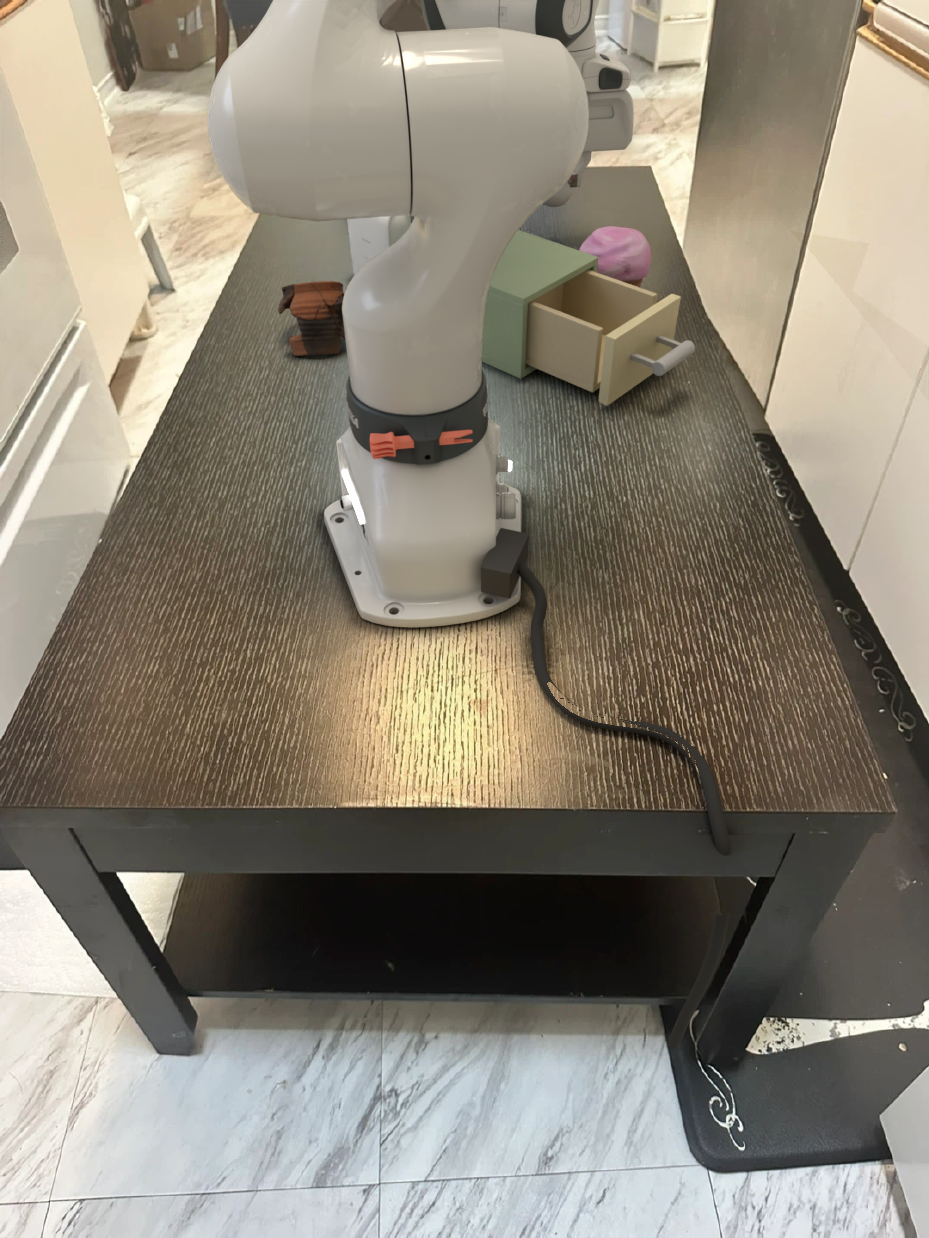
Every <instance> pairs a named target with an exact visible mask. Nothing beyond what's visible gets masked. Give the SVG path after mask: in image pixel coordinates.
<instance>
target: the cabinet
mask: <svg viewBox="0 0 929 1238" xmlns="http://www.w3.org/2000/svg"><path fill="white" fill-rule="evenodd" d="M598 258H599V257H597V256H594V255H591V254H588V253H585V252H582V251H579V250H578V249H576V248H573V247H570V246H567V245H564V244H561V243H558V242H555V241H552V240H549V239H546V238H543V237H541V236H538V235H535V234H531V233H529V232H527V231H523V230H520V229H519V230H518V231H517V232H516V234H515V235H514V237H513V238H512V239H511V241H510V242H509V244H508V246H507V247H506V249H505V251H504V252H503V254H502V256H501V258H500V260H499V262H498V264H497V266H496V269H495V271H494V274H493V276H492V279H491V282H490V285H489V289H488V293H487V298H486V305H485V314H484V325H483V339H482V363H484V364H486V365H488V366H490V367H493V368H495V369H497V370H500V371H501V372H504V373H506V374H509V375H511V376H513V377H515V378H517V379H520V380H521V379H523V378H524V377H526V376H527V375H529V374H531V373H533V372H535V370H538V369H537V368H534V367H532V366H530V365H527V364H525V361H526V336H527V312H528V304H527V303H529V302H531V301H533V300H535V299H536V298H538V297H540V296H542V295H543V294H545V293H547V292H549V291H551V290H552V289H554V288H556V287H558V286H559V285H561V284H563V283H565V282H567V281H568V280H570V279H572V278H574V277H575V276H577V275H579V274H581V273H582V272H584V271H586V270H591V271H594V272H597V268H598Z"/></svg>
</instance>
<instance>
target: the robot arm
mask: <svg viewBox="0 0 929 1238" xmlns="http://www.w3.org/2000/svg"><path fill="white" fill-rule="evenodd" d="M396 1H397V0H272V1H271V3H270V5H269V7H268V9H267V11H266V13H265V14H264V16H263V18H262V19H261V20H260V22H259V23H258V25H257V26H256V28H255V29H254V30H253V31H252V32H251V34H250V35H249V36H248V37H247V38H246V39H245V40H244V42H243V43H242V44H241V45H240V46H239V47H237V48H236V49H235V50H234V51H233V52H232V53H231V54H230V55H228V57H227V58H226V60H224V62H223V64H222V65H221V67H220V69H219V71H218V72H217V74H216V77H215V79H214V80H213V83H212V87H211V91H210V94H209V100H208V106H207V117H206V118H207V134H208V141H209V145H210V149H211V152H212V156H213V158H214V159H213V160H214V161H215V164H216V166H217V168H218V171H219V173H220V175H221V176H222V178H223V181H224V182H225V183H226V185H227V186H228V188H229V189H230V191H231V192H232V193H233V194H234V195H235V196H236V198H237V199H238V200H239V201H240V202H241V203H242V204H243V205H244V206H245V207H246V208H248V209H249V210H250V211H251V212H252V213H255V214H260V215H266V216H273V217H278V218H285V219H293V220H303V221H310V222H328V221H341V220H342V221H343V220H345V221H346V220H347V219H359V218H373V217H386V216H400V215H409V216H415V217H414V220H413V222H412V224H411V225H410V227H409V229H408V230H407V231H406V233H405V234H404V235H403V236H402V237H401V238H400V239H399V240H398V241H397V242H396V243H395V244H393V245H392V246H391V247H389V248H387V249H386V250H384V251H383V252H381V253H379V254H378V255H376V256H374V257H373V258H371V259H370V260H369V261H367V262H366V263H365V264H364V265H363V266H362V267H361V268H360V269H359V270H358V272H357V273H356V274H355V275H354V274H353V277H352V278H351V279H350V281H349V282H348V285H347V287H346V289H345V291H344V298H343V303H342V314H343V323H344V332H345V340H346V341H345V340H344V341H345V347H346V349H345V350H346V355H347V366H348V374H349V375H348V377H347V380H346V383H345V388H346V393H345V403H346V404H345V405H346V411H347V414H348V421H349V426H348V427H347V429H346V430H345V431H344V433H342V435H341V436H340V437H339V439H337V440H336V442H335V443H336V453H337V461H338V471H339V478H340V479H339V480H340V487H341V496H340V498H339V499H338V500H336V501H334V502H331V503H330V504H329V505H328V506H327V507H326V508H325V509H324V512H323V522H324V525H325V527H326V530H327V533H328V535H329V539H330V541H331V544H332V546H333V549H334V551H335V554H336V557H337V560H338V562H339V565H340V567H341V570H342V573H343V576H344V578H345V581H346V582H347V583H346V584H347V586H348V589H349V591H350V594H351V597H352V599H353V603H354V604H355V608H356V610H357V613H358V614H359V616H360V618H361V619H362V620H365V621H368V622H371V623H374V624H377V625H382V626H386V627H394V628H395V627H396V628H431V627H432V628H433V627H444V626H451V625H458V624H464V623H469V622H474V621H479V620H483V619H486V618H490V617H493V616H495V615H497V614H500V613H502V612H504V611H506V610H508V609H510V608H512V607H513V606H514V605H516V604H517V603H519V602H520V601H521V595H522V594H521V593H522V591H521V590H522V581H523V582H524V583H525V584H526V586H527V587H528V588H529V590H530V592H531V593H532V595H533V599H534V611H533V614H532V618H531V622H530V640H531V653H532V662H533V667H534V672H535V675H536V679H537V681H538V683H539V685H540V687H541V688H542V690H543V692H544V694H545V695H546V696H547V697H548V699H549V700H550V701H551V702H552V703H553V704H554V705H555V706H556V707H557V708H558V710H560V711H561V712H563V713H564V714H565V715H567V716H568V717H569V718H571V719H573V720H574V721H577V722H579V723H581V724H583V725H587V726H588V727H589V726H590V727H594V728H597V729H601V730H608V731H612V732H613V731H615V732H623V733H628V734H635V735H636V734H637V735H642V736H646V737H650V738H654V739H656V740H660V741H662V742H664V743H666V744H668V745H670V746H672V747H673V748H674V749H676V750H677V752H679V753H680V754H681V755H683V756H684V757H685V759H686V760H687V761H688V762H690V764H691V766H692V767H693V768H694V770H695V771H696V768H695V766H694V763H693V762H692V760H691V758H690V757H689V755H688V754H687V752H686V751H685V750H684V749H683V748H682V747H681V746H680V745H678V744H677V743H676V742H677V741H679V742H678V743H681V744H683V746H685V748H688V749H687V750H689V752H688V753H691V754H693V755H692V757H693V756H694V757H693V759H694V760H696V761H695V762H696V763H695V764H696V766H697V768H698V770H699V774H700V777H699V780H700V779H701V780H700V783H701V786H702V790H703V794H704V799H705V804H706V809H707V810H706V811H707V815H708V819H709V824H710V829H711V832H712V836H713V840H714V846H715V849H716V850H717V852H718V853H719V854H720V855H721V856H724V857H728V856H730V855H731V854H732V844H731V841H730V836H729V831H728V828H727V824H726V819H725V814H724V810H723V805H722V800H721V796H720V791H719V786H718V784H717V781H716V778H715V775H714V773H713V770H712V768H711V767H710V765H709V763H708V761H707V759H705V757H704V756H703V755H702V756H701V755H700V753H701V752H700V751H699V750H698V751H699V752H700V753H699V752H698V751H696V749H697V748H696V749H694V747H695V746H694V745H693V746H694V747H693V746H691V745H690V744H689V743H688V742H687V741H689V740H687V739H686V738H685V737H683V736H682V735H680V734H679V733H678V732H676V731H674V730H672V729H670V728H668V727H665V726H663V725H660V726H658V725H659V724H657V725H654V724H655V723H653V724H652V722H649V723H646V722H647V721H644V722H639V721H640V720H639V719H637V720H638V721H635V722H633V720H634V719H631V720H632V721H629V722H631V723H630V724H636V725H638V724H640V725H638V727H644V728H647V727H649V728H648V729H649V730H653V731H656V732H659V733H662V734H664V735H667V737H669V738H671V737H672V738H675V739H674V741H676V742H674V741H673V740H671V739H669V738H667V737H665V736H664V735H661V734H658V733H655V732H652V731H647V730H643V729H637V728H630V727H623V726H615V725H609V724H603V723H598V722H594V721H591V720H588V719H585V718H582V717H580V716H578V715H576V714H574V713H572V712H570V711H569V710H568V709H566V708H565V707H564V706H562V705H561V704H560V703H559V702H558V701H557V700H556V699H555V697H554V696H553V694H552V693H551V691H550V689H549V687H548V685H547V683H548V682H551V683H552V684H553V685H554V686H555V687H556V688H557V689H558V690H559V691H560V692H561V690H560V689H559V688H558V687H557V686H556V684H555V683H554V681H553V680H552V678H551V676H550V672H549V671H548V670H549V669H548V666H547V660H546V651H545V639H544V623H545V619H546V616H547V611H548V599H547V594H546V591H545V589H544V586H543V585H542V583H541V582H540V580H539V579H538V577H537V576H536V575H535V574H534V572H532V570H531V569H530V568H529V566H528V565H527V562H528V559H529V545H530V533H528V532H524V531H522V518H523V517H522V508H523V506H522V505H523V503H522V494H521V492H520V490H519V489H517V488H515V487H513V486H511V485H508V484H507V483H502V482H500V473H508V472H511V471H513V461H512V460H510V459H509V456H504V455H503V456H500V447H501V445H500V443H501V442H500V441H501V426H500V425H498V424H497V423H496V422H495V421H493V420H492V419H491V418H489V389H488V385H487V375H486V373H485V371H484V370H483V362H482V339H483V325H484V314H485V305H486V298H487V293H488V289H489V285H490V282H491V279H492V276H493V274H494V271H495V269H496V266H497V264H498V262H499V260H500V258H501V256H502V254H503V252H504V251H505V249H506V247H507V246H508V244H509V242H510V241H511V239H512V238H513V237H514V235H515V234H516V232H517V231H518V230H520V228H521V227H522V226H523V225H524V224H525V222H526V221H527V220H528V219H529V218H530V217H531V216H532V215H533V214H534V213H535V211H537V210H538V209H539V208H540V207H541V206H542V205H543V203H544V202H546V201H547V200H548V199H549V198H550V197H552V196H553V195H554V194H556V193H557V192H558V191H560V190H561V188H562V187H563V186H564V185H565V184H566V182H567V183H568V184H569V185H570V188H571V189H572V188H581V186H582V185H581V184H582V175H583V174H584V173H585V171H586V169H587V168H588V166H589V164H590V162H592V153H594V152H609V151H625V150H626V149H627V148H628V147H629V145H630V144H631V143H632V141H633V134H634V123H635V122H634V121H635V120H634V119H635V117H634V114H635V113H634V99H633V97H632V95H631V93H630V92H629V91H628V90H627V89H629V87H630V85H631V81H632V74H631V71H630V70H629V68H628V67H627V66H626V65H625V63H623V62H622V61H620V60H618V59H617V58H615V57H613V56H610V55H606V54H603V53H601V52H597V51H596V47H597V45H596V44H597V35H596V30H595V22H596V21H595V20H596V13H597V10H598V7H599V4H600V0H420V3H421V13H422V17H423V21H424V23H425V26H426V29H427V30H412V31H410V30H409V31H395V30H392V29H391V30H389V29H386V28H384V27H383V26H382V25H381V23H380V21H381V19H382V18H383V16H384V14H385V13H386V12H387V10H388V9H389V8H390V7H391V6H392V5H394V3H395V2H396ZM566 698H567V699H568V700H570V699H569V698H568V697H566ZM560 699H564V698H560ZM568 703H570V702H568ZM572 705H573V704H572ZM575 705H576V706H578V705H577V704H575ZM585 710H586V709H585ZM579 711H581V710H579ZM586 711H588V710H586ZM594 713H595V712H594ZM595 714H597V713H595ZM595 714H594V715H595ZM597 717H598V716H597ZM615 717H616V716H615ZM601 718H604V717H601ZM616 718H618V717H616ZM624 719H626V718H624ZM620 720H623V719H620ZM624 721H628V720H624ZM624 721H623V722H624ZM615 722H616V721H615ZM629 722H626V723H629ZM637 722H638V723H637ZM650 723H651V724H650ZM646 724H647V725H646ZM661 726H662V727H661ZM664 727H665V728H664ZM667 728H668V729H667ZM654 729H655V730H654ZM669 729H670V730H669ZM671 730H672V731H671ZM675 732H676V733H675ZM677 733H678V734H677ZM680 736H682V737H683V738H682V737H680ZM684 738H685V739H686V740H687V741H686V740H685V739H684ZM703 757H704V758H703ZM729 919H730V913H726V914H720V915H719V914H718V915H714V916H713V923H712V929H711V933H710V938H709V942H708V946H707V949H706V952H705V955H704V959H703V962H702V965H701V967H700V969H699V972H698V975H697V977H696V978H695V979H696V980H695V982H694V983H693V986H692V988H691V989H690V992H689V994H688V996H687V998H686V1000H685V1001H684V1004H683V1006H682V1008H681V1010H680V1012H679V1014H678V1016H677V1019H676V1020H675V1023H674V1025H673V1028H672V1030H671V1033H670V1036H669V1039H668V1042H667V1044H668V1045H667V1046H668V1047H669V1049H671V1050H672V1051H675V1050H678V1049H679V1047H680V1045H681V1043H682V1041H683V1037H684V1035H685V1032H686V1030H687V1028H688V1026H689V1024H690V1022H691V1020H692V1018H693V1016H694V1014H695V1012H696V1010H697V1008H698V1006H699V1005H700V1003H701V1001H702V1000H703V997H704V995H705V993H706V991H707V990H708V987H709V986H710V983H711V981H712V980H713V975H714V974H715V971H716V969H717V966H718V964H719V960H720V957H721V955H722V951H723V946H724V943H725V939H726V935H727V930H728V925H729Z"/></svg>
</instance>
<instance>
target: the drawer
mask: <svg viewBox="0 0 929 1238" xmlns="http://www.w3.org/2000/svg"><path fill="white" fill-rule="evenodd" d="M681 299H682V296H681V295H677V294H676V293H670V294H669V295H667V296H665V297H664V298H662V299H661V300H659V301H657V300H658V293H656V292H653V291H651V290H648V289H645V288H642V287H640V288H639V287H637V286H634V285H631V284H628V283H625V282H622V281H619V280H617V279H614V278H611V277H608V276H605V275H602V274H599V273H597V272H594V271H591V270H586V271H584V272H582V273H581V274H579V275H577V276H575V277H574V278H572V279H570V280H568V281H567V282H565V283H563V284H561V285H559V286H558V287H556V288H554V289H552V290H551V291H549V292H547V293H545V294H543V295H542V296H540V297H538V298H536V299H535V300H533V301H531V302H529V303H527V304H528V312H527V336H526V361H525V364H527V365H530V366H532V367H534V368H537V369H536V370H538V371H542V372H544V373H546V374H548V375H550V376H553V377H556V378H557V379H560V380H562V381H565V382H567V383H569V384H572V385H574V386H576V387H578V388H581V389H583V390H585V391H588V392H590V393H595V392H596V391H597V390H598V389H599V393H598V403H600V404H602V405H604V406H606V407H608V406H609V405H611V404H612V403H614V402H615V401H616V400H618V399H619V398H620V397H622V396H623V395H625V394H626V393H628V392H629V391H631V390H632V389H633V388H634V387H636V386H637V385H639V384H640V383H642V382H643V381H645V380H646V379H647V378H649V377H650V376H651V375H653V374H654V375H655V376H656V377H661V376H664V375H665V374H667V373H668V372H669V371H670V370H672V369H674V368H675V367H676V366H678V365H679V364H680V363H682V362H684V361H685V360H686V359H688V358H689V357H690V356H692V355H693V354H694V353H695V351H696V346H695V343H694V342H693V341H691V340H688V339H687V340H684V341H682V342H679V341H677V340H675V334H676V328H677V323H678V321H677V320H678V317H679V312H680V311H679V310H680V306H681Z"/></svg>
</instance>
